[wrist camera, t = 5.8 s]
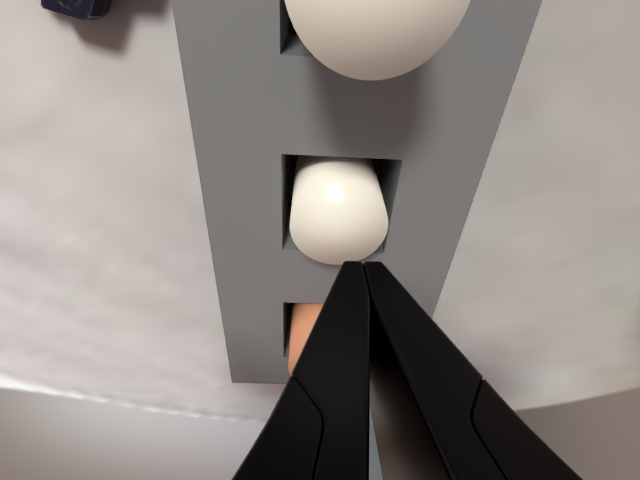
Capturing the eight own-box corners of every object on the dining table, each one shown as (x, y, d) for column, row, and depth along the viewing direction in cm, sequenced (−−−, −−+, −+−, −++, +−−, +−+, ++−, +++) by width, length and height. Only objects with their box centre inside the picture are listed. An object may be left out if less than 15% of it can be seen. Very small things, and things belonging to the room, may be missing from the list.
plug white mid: (378, 133, 17) (396, 186, 13) (367, 203, 20) (380, 266, 16) (296, 129, 17) (289, 181, 13) (295, 200, 19) (289, 262, 15)
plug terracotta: (359, 273, 21) (369, 345, 17) (352, 317, 24) (359, 390, 20) (293, 270, 21) (288, 342, 17) (293, 315, 24) (288, 388, 20)
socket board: (552, -229, 11) (648, -306, 8) (397, 335, 27) (407, 387, 23) (175, -261, 11) (114, -355, 7) (242, 331, 26) (232, 382, 23)
